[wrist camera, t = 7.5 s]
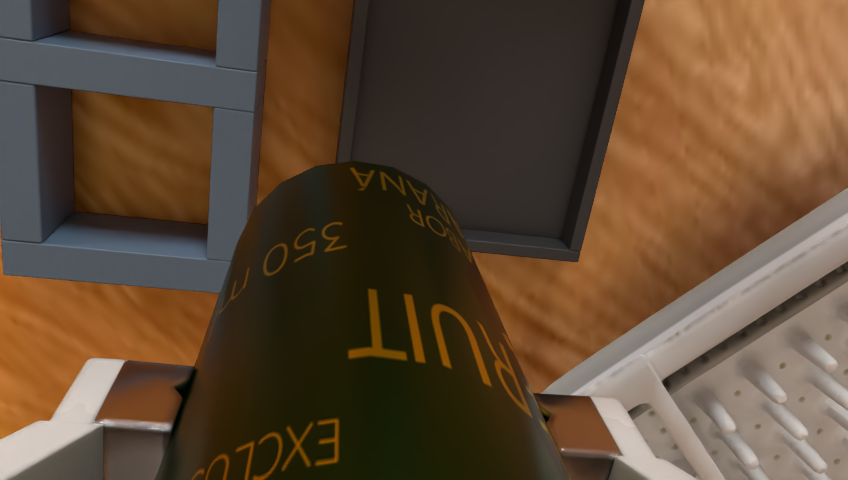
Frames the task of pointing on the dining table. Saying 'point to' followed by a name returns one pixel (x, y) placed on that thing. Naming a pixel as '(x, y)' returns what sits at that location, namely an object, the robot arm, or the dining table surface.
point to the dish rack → (744, 362)
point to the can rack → (134, 77)
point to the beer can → (357, 347)
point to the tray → (491, 109)
